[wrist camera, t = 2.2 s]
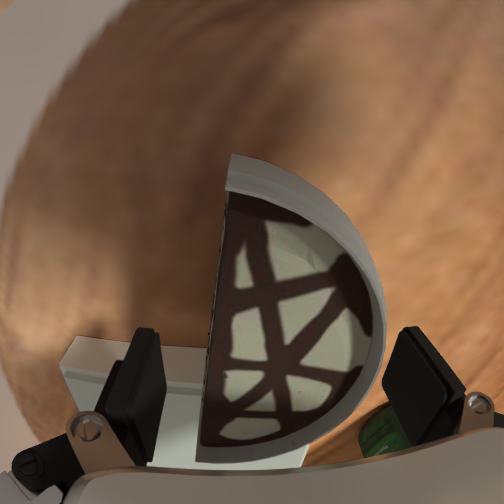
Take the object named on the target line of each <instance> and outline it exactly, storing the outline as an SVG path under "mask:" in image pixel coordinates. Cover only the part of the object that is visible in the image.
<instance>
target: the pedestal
mask: <svg viewBox="0 0 504 504" xmlns="http://www.w3.org/2000/svg"><path fill="white" fill-rule="evenodd" d="M130 344H131V342H122V341H114V340H105V339H98V338H90V337H83V336H76V337H75V339H74V340H73V342H72V344H71V345H70V347H69V348H68V350H67V352H66V353H65V355H64V357H63V358H62V360H61V362H60V363H59V367H60V369H61V371H62V374H63V376H64V379H65V382H66V384H67V386H68V388H69V390H70V392H71V395H72V397H73V399H74V401H75V403H76V405H77V407H78V409H79V411H80V412H82V411H94V409H95V406H96V404H97V401H98V399H99V397H100V394H101V392H102V390H103V387H104V385H105V383H106V380H107V378H108V376H109V373H110V371H111V369H112V367H113V364H114V363H115V361H116V360H124V358H125V355H126V353H127V351H128V348H129V346H130ZM161 352H162V358H163V365H164V371H165V377H166V383H167V393H166V397H165V402H164V407H163V411H162V416H161V421H160V426H159V431H158V436H157V441H156V446H155V451H154V456H153V461H152V462H147V466H155V467H170V468H185V469H203V470H269V469H286V468H298V467H301V466H302V463H303V461H304V458H305V456H306V453H307V451H308V448H309V445H310V444H308V445H306V446H303V447H301V448H299V449H297V450H294V451H291V452H288V453H285V454H282V455H279V456H276V457H272V458H268V459H263V460H258V461H252V462H244V463H232V464H211V463H199V462H195V456H196V446H197V435H198V425H199V415H200V405H201V396H202V387H203V378H204V369H205V361H206V358H205V357H206V352H207V348H192V347H177V346H164V345H161Z"/></svg>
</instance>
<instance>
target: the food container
mask: <svg viewBox="0 0 504 504" xmlns="http://www.w3.org/2000/svg"><path fill="white" fill-rule="evenodd" d="M225 190H228V193H227V200H226V204H225V206H226V207H225V210H224V221H223V228H222V235H221V242H220V249H219V257H218V264H217V272H216V280H215V288H214V295H213V301H212V302H213V304H212V312H211V320H210V328H209V333H208V335H209V336H208V344H207V352H206V357H205V358H206V361H205V369H204V378H203V387H202V396H201V405H200V415H199V425H198V435H197V446H196V456H195V462H199V463H211V464H232V463H244V462H252V461H258V460H263V459H268V458H272V457H276V456H279V455H282V454H285V453H288V452H291V451H294V450H297V449H299V448H301V447H303V446H306V445H308V444H310V443H312V442H314V441H316V440H317V439H319V438H321V437H322V436H324V435H326V434H327V433H329V432H330V431H332V430H333V429H334V428H336V427H337V426H338V425H339V424H341V423H342V422H343V421H344V420H346V419H347V418H348V417H349V416H350V415H351V414H352V412H353V411H354V410H355V409H356V408H357V407H358V406H359V405H360V404H361V402H362V401H363V400H364V398H365V397H366V395H367V394H368V392H369V391H370V389H371V388H372V386H373V384H374V382H375V380H376V377H377V375H378V373H379V371H380V368H381V364H382V360H383V356H384V352H385V348H386V326H387V309H386V304H385V298H384V293H383V288H382V284H381V282H380V279H379V276H378V273H377V270H376V268H375V265H374V262H373V260H372V257H371V255H370V253H369V251H368V248H367V246H366V244H365V242H364V240H363V237H362V236H361V235H360V233H359V232H358V230H357V229H356V227H355V226H354V225H353V223H352V222H351V220H350V219H349V218H348V216H347V215H346V214H345V213H344V212H343V211H342V210H341V209H340V208H339V207H338V206H337V205H336V204H335V203H334V202H333V201H332V200H331V199H330V198H329V197H328V196H327V195H326V194H324V193H323V192H322V191H320V190H319V189H317V188H316V187H314V186H313V185H311V184H310V183H308V182H307V181H305V180H304V179H302V178H301V177H299V176H298V175H296V174H294V173H291V172H289V171H287V170H285V169H282V168H280V167H277V166H275V165H273V164H270V163H268V162H266V161H263V160H259V159H255V158H251V157H246V156H242V155H238V154H233V153H232V154H231V158H230V163H229V168H228V174H227V180H226V184H225Z"/></svg>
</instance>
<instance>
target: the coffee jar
mask: <svg viewBox="0 0 504 504" xmlns="http://www.w3.org/2000/svg"><path fill="white" fill-rule="evenodd" d="M358 441H359V444H360V447H361V450H362V453H363V456H364V458H368V457H373V456H378V455H383V454H387V453H392V452H396V451H400V450H404V449H408V448H411V447H414V446H412V445H411V444H410V443H409V440H408V438H407V436H406V434H405V432H404V430H403V428H402V426H401V424H400V422H399V420H398V418H397V415H396V413H395V411H394V409H393V407H392V405H390V406H388V407H386V408H385V409H383V410H382V411H379V412H378V413H377V414H375V415H374V416H373V417H372V418H371V419H370V420H369V421H368V422H367V423H366V424H365V426H364V427H363V429H362V430H361V431H360V433H359V436H358Z"/></svg>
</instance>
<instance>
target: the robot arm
mask: <svg viewBox="0 0 504 504" xmlns="http://www.w3.org/2000/svg"><path fill="white" fill-rule="evenodd" d="M382 387H383V389H384V391H385V393H386V395H387V397H388V399H389V401H390V403H391V405H392V407H393V409H394V411H395V413H396V415H397V418H398V420H399V422H400V424H401V426H402V428H403V430H404V432H405V434H406V436H407V438H408V440H409V443H410V444H411V445H412V446H414V447H411V448H408V449H404V450H400V451H396V452H392V453H387V454H383V455H378V456H373V457H368V458H363V459H358V460H352V461H346V462H340V463H333V464H326V465H317V466H308V467H298V468H286V469H269V470H203V469H185V468H170V467H155V466H147V462H152V461H153V456H154V451H155V446H156V441H157V436H158V431H159V426H160V421H161V416H162V411H163V407H164V402H165V397H166V393H167V383H166V377H165V371H164V365H163V358H162V352H161V345H160V338H159V333H154V330H153V329H152V328H140V327H139V328H137V330H136V332H135V334H134V337H133V339H132V341H131V344H130V346H129V348H128V351H127V353H126V355H125V358H124V360H116V361H115V363H114V364H113V367H112V369H111V371H110V373H109V376H108V378H107V380H106V383H105V385H104V387H103V390H102V392H101V394H100V397H99V399H98V401H97V404H96V406H95V409H94V411H82V412H78V413H77V414H75V415H73V416H72V417H71V418H70V419H69V420H68V422H67V424H66V433H65V434H62V435H60V436H58V437H55V438H53V439H51V440H48V441H46V442H43V443H41V444H39V445H36V446H34V447H31V448H28V449H26V450H23V451H21V452H20V453H18V454H17V455H16V456H15V458H14V459H13V461H12V470H11V471H9V472H8V473H7V472H6V471H4V472H2V473H1V474H0V504H504V415H502V414H499V413H496V412H494V404H493V402H492V400H491V399H490V398H489V397H488V396H487V395H485V394H483V393H481V392H471V393H469V394H468V395H467V396H466V395H465V394H464V392H465V391H466V388H465V387H464V385H463V384H462V382H461V381H460V380H459V378H458V377H457V376H456V374H455V373H454V372H453V370H452V369H451V368H450V366H449V365H448V364H447V362H446V361H445V360H444V359H443V357H442V356H441V355H440V353H439V352H438V351H437V350H436V348H435V347H434V346H433V344H432V343H431V342H430V341H429V339H428V338H427V337H426V336H425V334H424V333H423V332H422V331H421V330H420V328H419V327H417V326H413V327H405V328H403V330H402V331H400V332H399V335H398V338H397V340H396V343H395V346H394V349H393V352H392V354H391V357H390V360H389V363H388V365H387V368H386V370H385V373H384V375H383V378H382Z"/></svg>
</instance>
